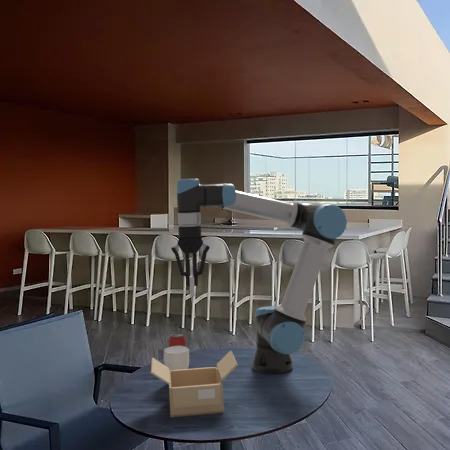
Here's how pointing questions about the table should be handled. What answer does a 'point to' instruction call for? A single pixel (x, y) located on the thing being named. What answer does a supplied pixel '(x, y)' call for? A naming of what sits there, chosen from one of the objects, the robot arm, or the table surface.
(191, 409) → the carton
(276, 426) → the table surface
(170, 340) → the beer can
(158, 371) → the flap
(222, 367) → the flap
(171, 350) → the cup
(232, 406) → the table surface
